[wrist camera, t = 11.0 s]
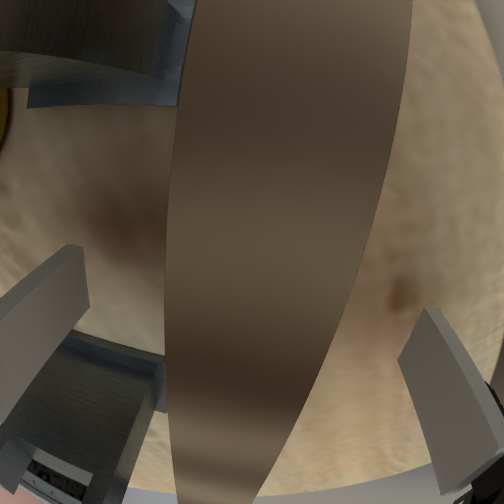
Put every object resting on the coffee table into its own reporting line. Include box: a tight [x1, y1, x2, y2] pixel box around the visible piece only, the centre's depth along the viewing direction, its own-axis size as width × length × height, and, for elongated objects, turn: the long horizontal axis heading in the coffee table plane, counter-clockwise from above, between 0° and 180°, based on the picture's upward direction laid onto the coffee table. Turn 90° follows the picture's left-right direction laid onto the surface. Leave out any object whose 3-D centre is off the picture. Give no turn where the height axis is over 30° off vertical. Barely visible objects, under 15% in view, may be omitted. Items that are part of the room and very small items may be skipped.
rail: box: [164, 0, 412, 504], centre depth 10 cm, size 28×4×4 cm, turn 171°
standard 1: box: [0, 330, 168, 504], centre depth 13 cm, size 5×8×11 cm, turn 81°
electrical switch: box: [18, 459, 88, 504], centre depth 19 cm, size 9×5×9 cm, turn 60°
